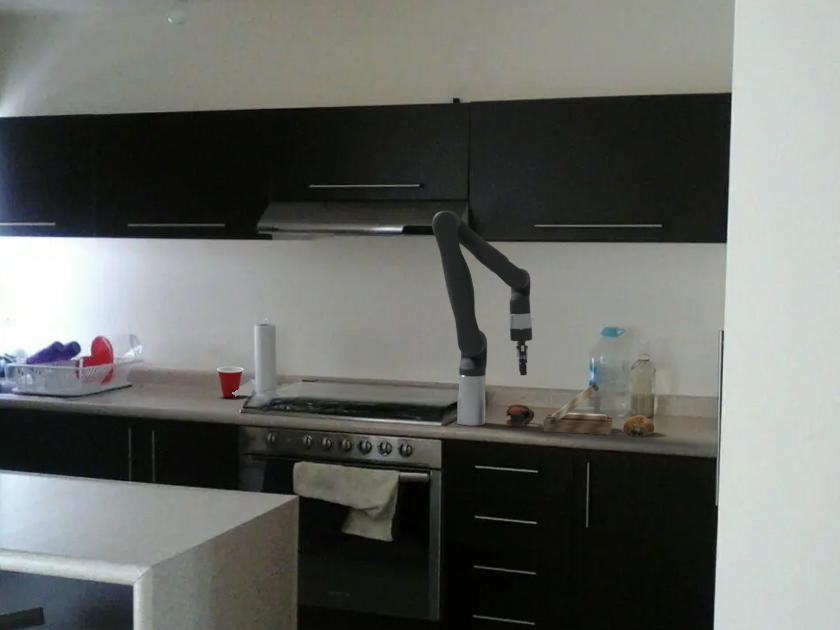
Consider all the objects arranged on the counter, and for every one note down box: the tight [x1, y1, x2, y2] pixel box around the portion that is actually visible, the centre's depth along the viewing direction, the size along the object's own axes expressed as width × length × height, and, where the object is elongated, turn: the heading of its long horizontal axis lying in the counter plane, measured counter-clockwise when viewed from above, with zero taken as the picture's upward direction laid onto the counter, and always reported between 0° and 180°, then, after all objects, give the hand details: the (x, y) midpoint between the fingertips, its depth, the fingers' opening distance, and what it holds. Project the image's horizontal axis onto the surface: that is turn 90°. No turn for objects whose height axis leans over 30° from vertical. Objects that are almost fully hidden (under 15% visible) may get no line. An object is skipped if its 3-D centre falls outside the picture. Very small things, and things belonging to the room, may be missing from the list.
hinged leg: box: [550, 382, 600, 420], centre depth 308 cm, size 20×3×2 cm
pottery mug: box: [505, 404, 535, 428], centre depth 319 cm, size 12×10×8 cm
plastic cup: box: [216, 366, 244, 398], centre depth 378 cm, size 11×11×12 cm
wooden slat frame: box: [543, 412, 613, 436], centre depth 311 cm, size 22×12×5 cm, turn 75°
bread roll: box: [623, 414, 655, 437], centre depth 305 cm, size 10×10×8 cm
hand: (523, 373), depth 315 cm, fingers open, 8 cm apart
